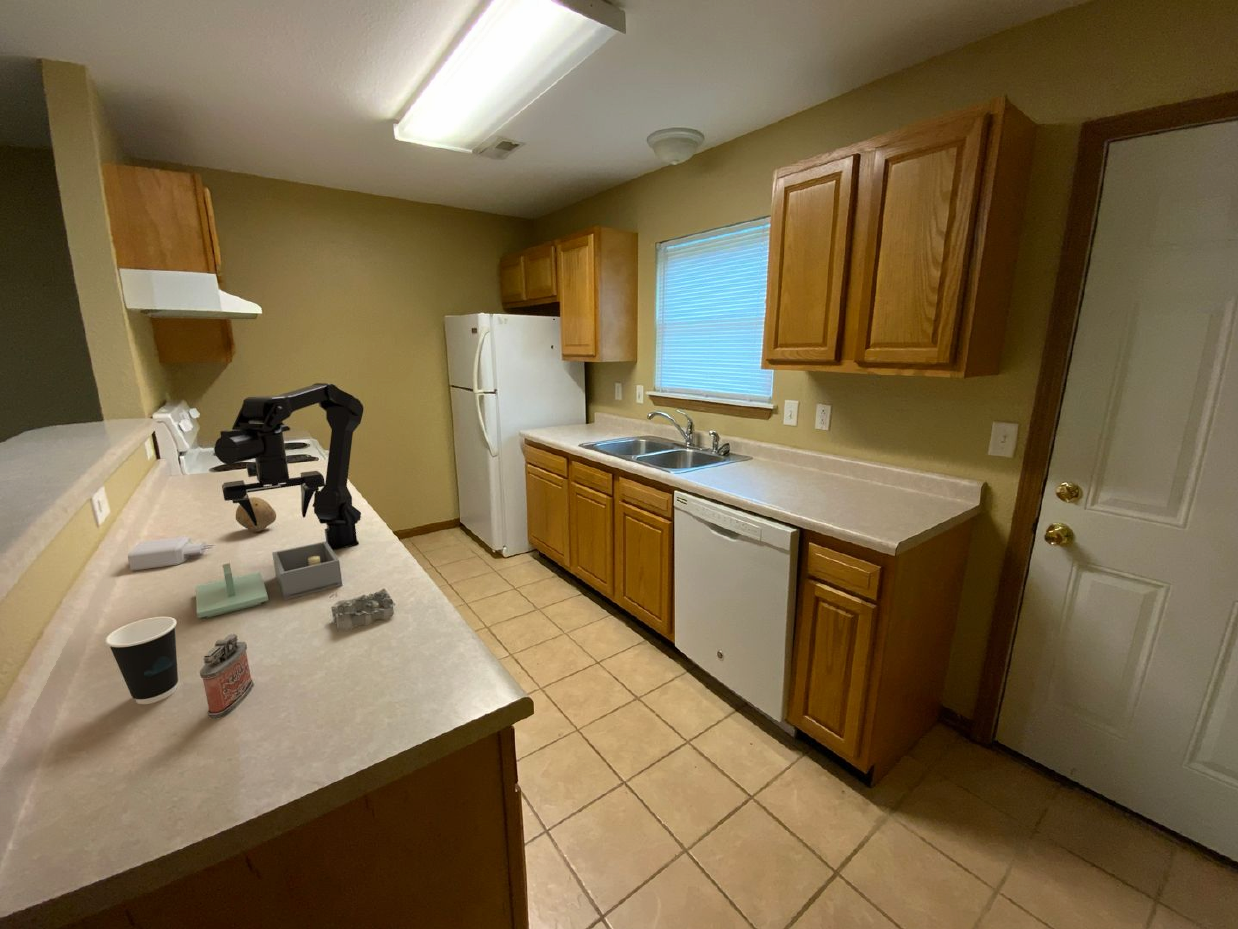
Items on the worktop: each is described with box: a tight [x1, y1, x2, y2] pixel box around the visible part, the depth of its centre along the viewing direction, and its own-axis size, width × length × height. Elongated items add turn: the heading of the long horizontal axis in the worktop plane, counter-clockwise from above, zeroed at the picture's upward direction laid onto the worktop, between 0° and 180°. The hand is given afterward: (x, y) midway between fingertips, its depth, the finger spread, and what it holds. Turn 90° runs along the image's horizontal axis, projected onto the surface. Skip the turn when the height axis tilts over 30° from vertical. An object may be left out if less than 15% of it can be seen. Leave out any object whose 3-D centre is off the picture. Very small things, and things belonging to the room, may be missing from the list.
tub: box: [271, 540, 343, 601], centre depth 116 cm, size 11×14×6 cm
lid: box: [195, 563, 269, 619], centre depth 108 cm, size 11×14×7 cm
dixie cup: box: [104, 616, 179, 705], centre depth 79 cm, size 8×8×11 cm
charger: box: [127, 536, 215, 572], centre depth 127 cm, size 5×9×15 cm
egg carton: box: [330, 588, 396, 632], centre depth 102 cm, size 11×8×4 cm
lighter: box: [199, 633, 255, 720], centre depth 78 cm, size 8×3×10 cm, turn 5°
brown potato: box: [235, 496, 277, 533], centre depth 145 cm, size 9×9×10 cm
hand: (280, 521), depth 118 cm, fingers open, 9 cm apart
